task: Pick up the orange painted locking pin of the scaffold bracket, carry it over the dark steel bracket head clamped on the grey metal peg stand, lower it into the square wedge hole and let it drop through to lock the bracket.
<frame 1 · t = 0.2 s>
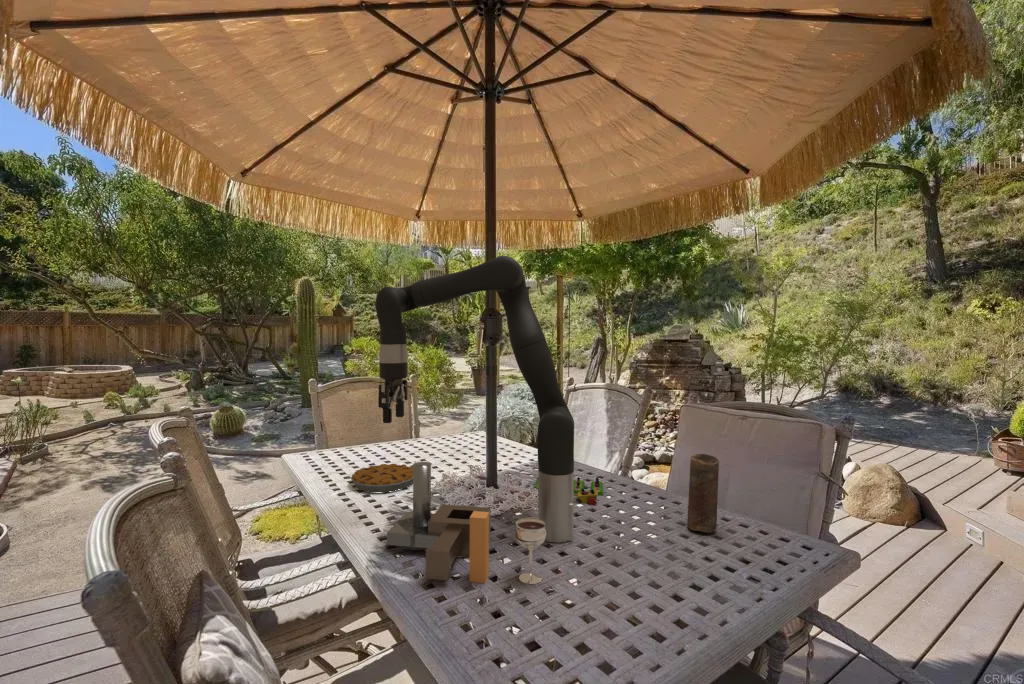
hand: (393, 419, 131), 29 cm above the table, tool pointing down, fingers open, 8 cm apart
metal peg stand: (421, 542, 121), on the table
bracket: (460, 545, 119), on the table
pie: (384, 484, 165), on the table
candle: (702, 530, 129), on the table
toy garden set: (567, 494, 158), on the table
wedge pin: (479, 578, 104), on the table
wineglass: (530, 578, 104), on the table
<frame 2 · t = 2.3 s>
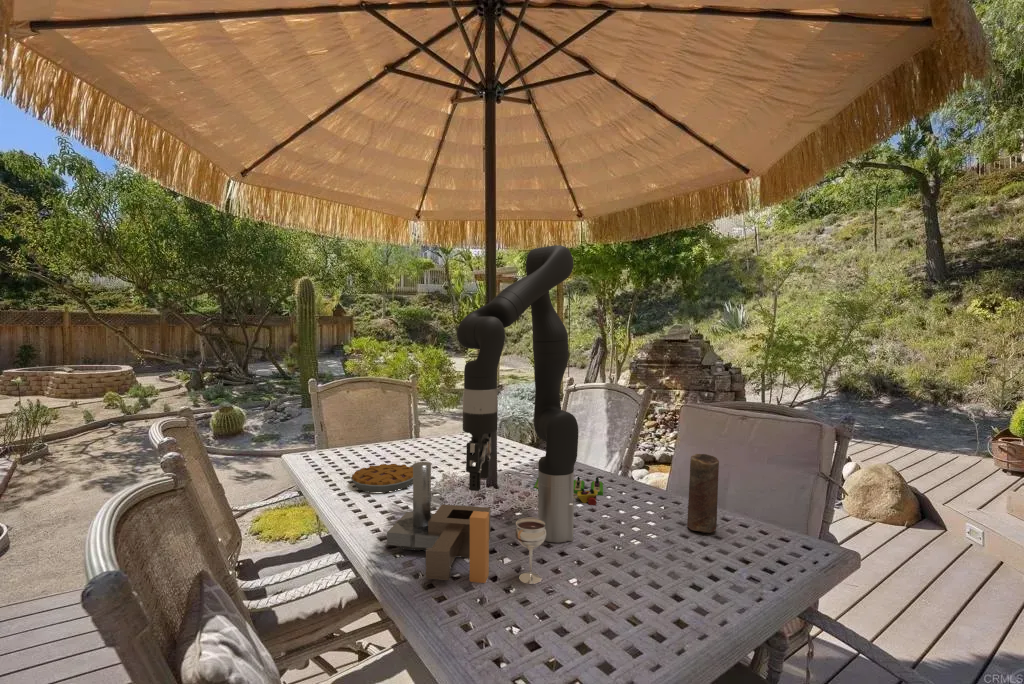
hand: (479, 483, 103), 21 cm above the table, tool pointing down, fingers open, 8 cm apart
nothing on the table moved.
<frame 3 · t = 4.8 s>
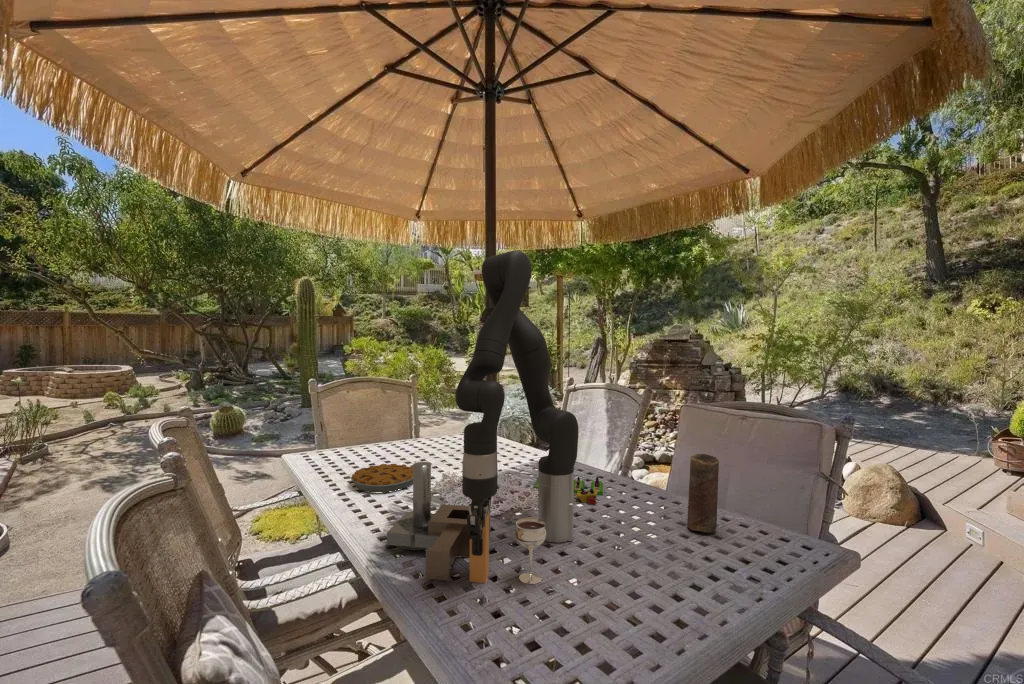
hand: (479, 549, 104), 6 cm above the table, tool pointing down, fingers closed on wedge pin, 3 cm apart
wedge pin: (479, 578, 104), on the table, touching gripper
everything else where it was.
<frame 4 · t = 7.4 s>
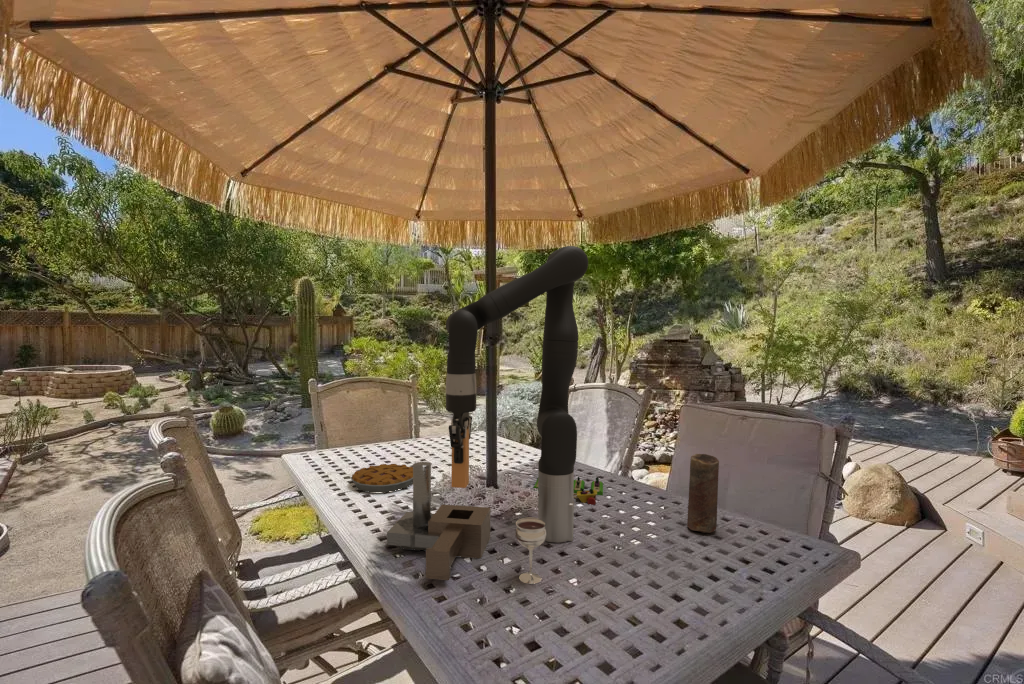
hand: (460, 460, 118), 22 cm above the table, tool pointing down, fingers closed on wedge pin, 3 cm apart
wedge pin: (460, 485, 118), point 15 cm above the table, touching gripper
everything else where it was.
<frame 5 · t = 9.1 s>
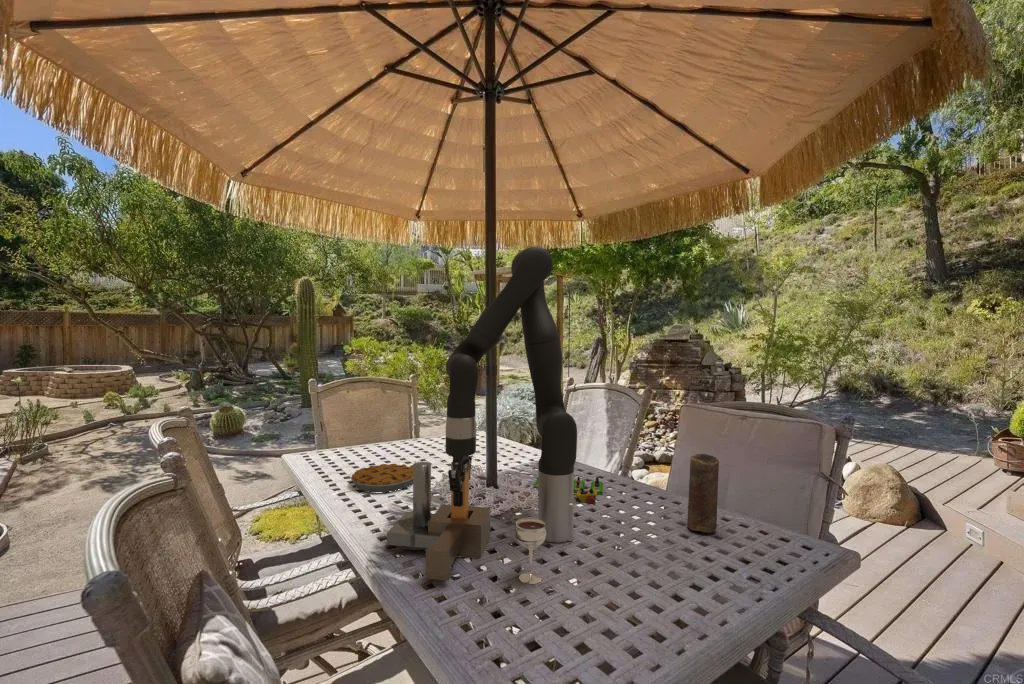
hand: (460, 502, 119), 11 cm above the table, tool pointing down, fingers closed on wedge pin, 3 cm apart
wedge pin: (459, 527, 119), point 5 cm above the table, touching gripper
everything else where it was.
when the fingers open (10 cm above the table, at t = 10.2 s): wedge pin drops 3 cm, resting in bracket.
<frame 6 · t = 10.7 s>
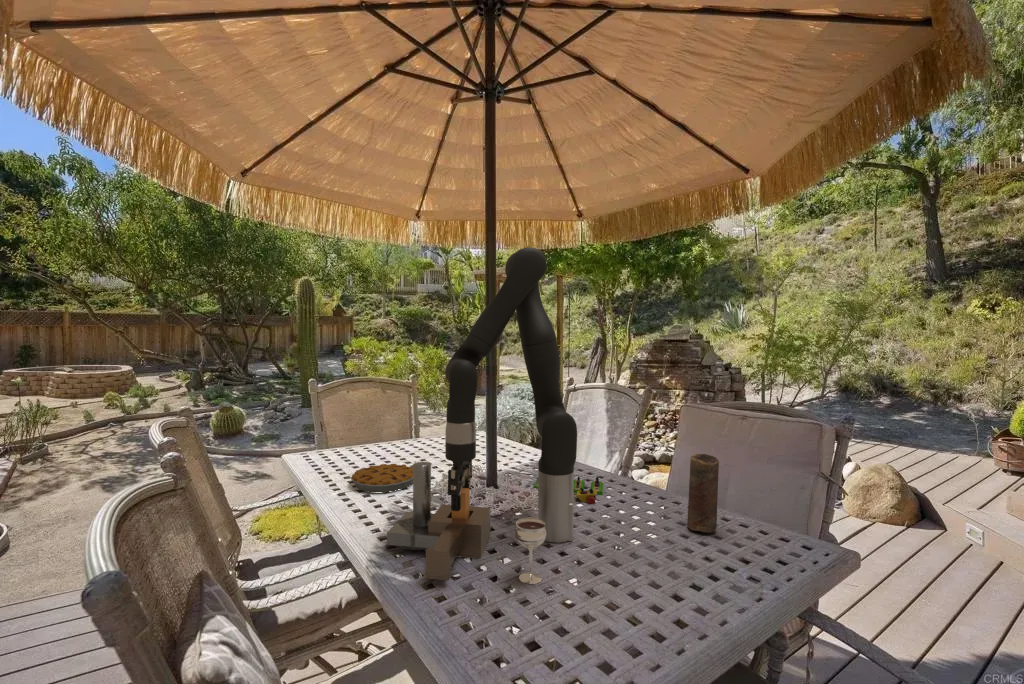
hand: (460, 503, 119), 11 cm above the table, tool pointing down, fingers open, 8 cm apart
wedge pin: (460, 545, 119), resting in bracket
everything else where it was.
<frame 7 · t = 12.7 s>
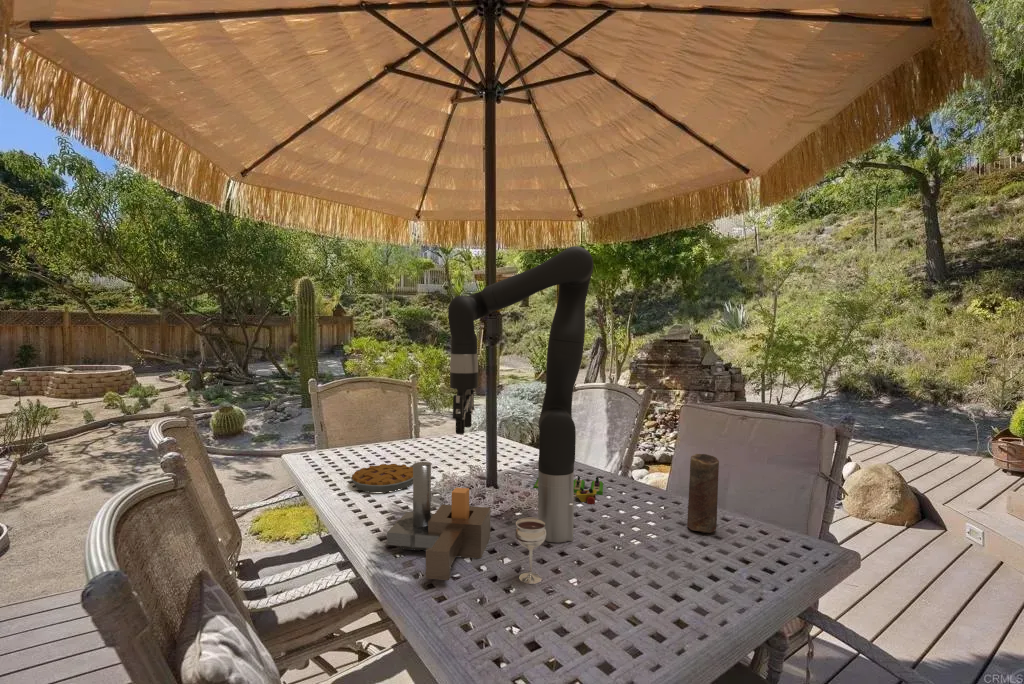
hand: (463, 430, 129), 27 cm above the table, tool pointing down, fingers open, 8 cm apart
nothing on the table moved.
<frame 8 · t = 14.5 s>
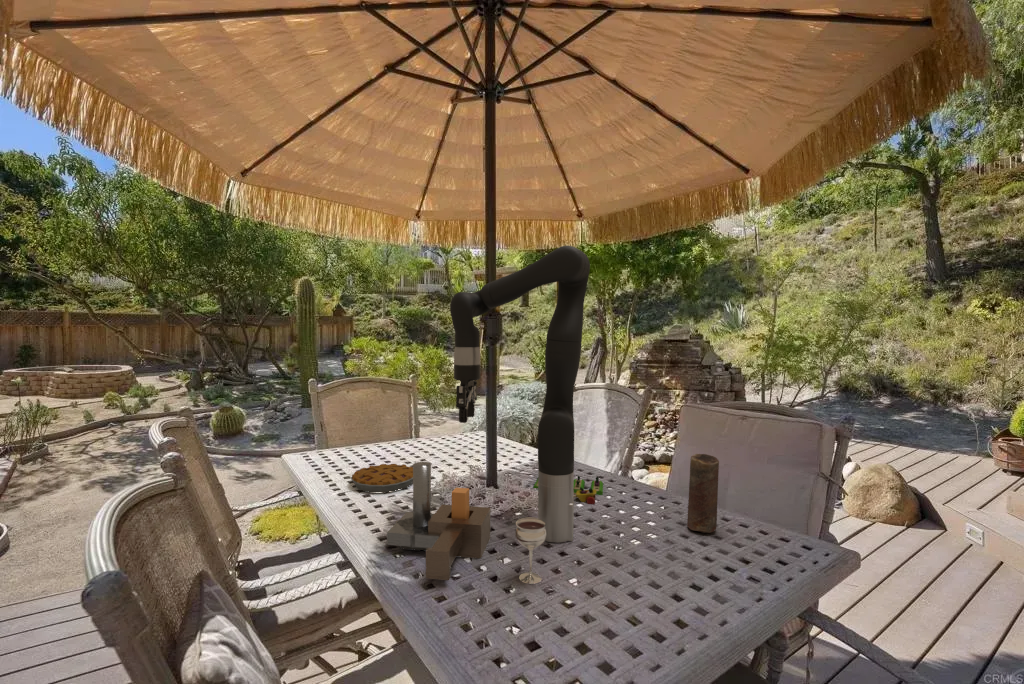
hand: (466, 419, 136), 28 cm above the table, tool pointing down, fingers open, 8 cm apart
at the end: wedge pin 0.1 cm off-centre on the bracket, point 0.0 cm above the bracket's base; wedge pin tilted 0°; the gripper is holding nothing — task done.
